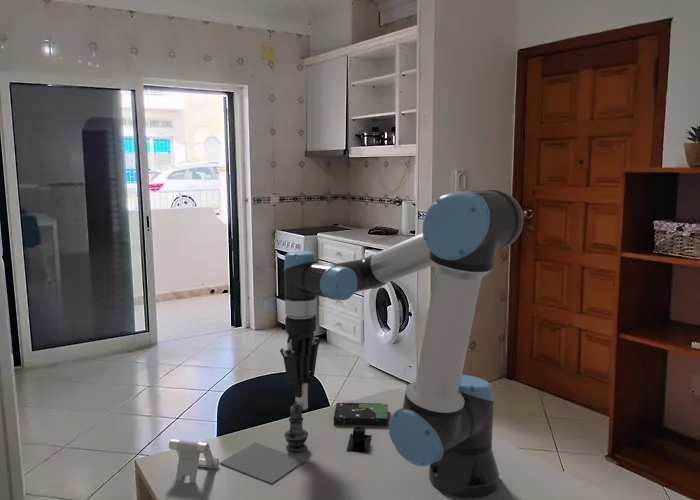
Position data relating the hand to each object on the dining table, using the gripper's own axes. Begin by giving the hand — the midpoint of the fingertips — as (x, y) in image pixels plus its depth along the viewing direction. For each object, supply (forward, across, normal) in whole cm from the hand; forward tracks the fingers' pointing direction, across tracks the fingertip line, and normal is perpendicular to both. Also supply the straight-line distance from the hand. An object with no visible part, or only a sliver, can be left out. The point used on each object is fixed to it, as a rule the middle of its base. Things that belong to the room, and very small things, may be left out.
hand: (301, 407), depth 142 cm
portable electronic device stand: (+10, +24, -12) cm, 29 cm away
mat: (+9, +12, -2) cm, 16 cm away
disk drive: (+10, -21, +4) cm, 24 cm away
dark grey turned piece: (+10, +2, 0) cm, 10 cm away
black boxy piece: (+10, -8, +12) cm, 18 cm away
